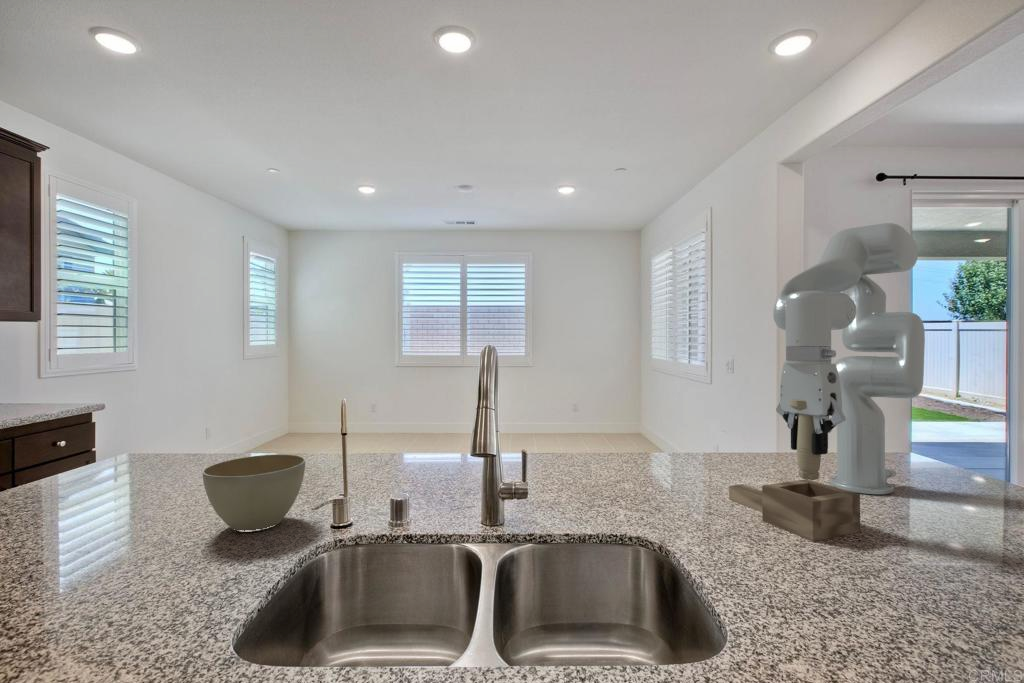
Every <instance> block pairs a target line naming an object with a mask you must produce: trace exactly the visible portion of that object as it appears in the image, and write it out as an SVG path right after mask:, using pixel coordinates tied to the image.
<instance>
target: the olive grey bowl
mask: <svg viewBox="0 0 1024 683" xmlns="http://www.w3.org/2000/svg"><path fill="white" fill-rule="evenodd" d="M305 469H306V458H305V457H303V456H302V455H301V456H300V455H296V454H284V453H283V454H282V453H281V454H280V453H279V454H277V453H276V454H263V455H261V454H260V455H252V456H245V457H239V458H232V459H229V460H225V461H224V460H223V461H220V462H217V463H213V464H211V465H209V466H206V467H205V468H203V470H202V481H203V486H204V489H205V493H206V495H207V498H208V501H209V502H210V505H211V507H212V508H213V510H214V512H215V513H216V514H217V515H218V517H219V518H220V519H221V520H222V521H223V522H224V524H226V525H227V526H228V527H229V528H230V529H231V528H232V529H231V530H233V529H235V530H244V531H245V530H256V529H263V528H267V527H270V526H273V525H276V524H278V523H279V522H280V523H281V522H282V521H283V519H284V518H285V517H286V515H287V514H288V512H289V511H290V510H291V508H292V507H293V506H294V503H295V501H296V500H297V497H298V495H299V493H300V490H301V487H302V484H303V480H304V475H305ZM280 523H279V524H280ZM279 524H278V525H279ZM276 526H277V525H276Z"/></svg>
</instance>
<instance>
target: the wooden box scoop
mask: <svg viewBox="0 0 1024 683" xmlns="http://www.w3.org/2000/svg"><path fill="white" fill-rule="evenodd" d="M761 487H762V488H761V489H758V488H757V487H756V488H755V487H752V486H749V485H747V484H743V483H742V484H741V483H740V484H735V485H729V486H728V500H729V499H730V500H729V501H732V502H735V503H738V504H740V503H741V504H740V505H742V504H743V506H745V507H747V506H748V508H750V509H752V510H755V509H756V510H755V511H758V512H761V513H762V514H761V515H762V517H761V518H762V520H761V522H764V521H765V522H764V523H767V522H768V523H767V524H769V523H770V524H769V525H771V524H772V526H774V525H775V526H774V527H776V526H777V528H779V529H780V530H781V529H782V530H784V531H787V532H789V533H790V534H793V535H796V536H799V537H801V538H804V539H806V540H809V541H811V542H816V541H817V540H818V541H823V540H827V539H832V537H833V538H836V537H842V535H843V536H848V535H853V534H858V533H861V493H857V492H851V491H847V490H843V489H839V488H837V487H834V486H833V485H828V484H825V483H822V482H818V481H815V480H809V479H801V480H792V481H785V482H777V483H770V484H763V485H761Z"/></svg>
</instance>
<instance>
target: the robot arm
mask: <svg viewBox="0 0 1024 683" xmlns="http://www.w3.org/2000/svg"><path fill="white" fill-rule="evenodd" d="M918 257H919V250H918V246H917V243H916V240H915V238H914V237H913V236H912V235H911V234H910V233H909V232H908V231H907V230H906V229H905V228H904V227H903V226H901V225H900V224H897V223H893V222H891V223H890V222H886V223H885V222H884V223H878V224H877V223H876V224H871V225H863V226H858V227H850V228H846V229H843V230H840V231H838V232H836V233H834V235H832V236H831V238H830V239H829V241H828V242H827V245H826V247H825V248H824V251H823V253H822V255H821V258H820V259H819V261H818V263H817V264H814V265H812V266H810V267H809V268H807V269H805V270H804V271H802V272H801V273H798V274H797V275H795V276H793V277H792V278H791V279H789V280H788V281H787V282H786V283H785V284H784V285H783V286H782V289H781V290H780V292H779V294H778V296H777V298H776V299H775V300H776V301H775V302H774V306H773V313H772V314H773V315H772V316H773V320H774V324H775V325H776V326H777V327H778V328H780V330H781V329H782V330H783V331H785V362H784V363H783V366H782V370H781V376H780V384H779V385H780V387H779V403H778V405H777V406H776V408H775V410H776V413H778V414H779V415H780V416H781V417H782V418H783V421H785V423H787V424H786V425H787V428H788V429H790V450H793V451H797V436H798V414H804V415H807V416H813V421H814V427H815V432H816V433H813V434H812V453H813V454H815V455H821V456H822V455H827V454H828V453H829V452H828V451H829V450H828V448H829V434H831V432H832V431H833V429H834V428H835V427H836V468H837V471H836V474H837V475H836V476H832V477H830V478H829V483H830V486H832V487H836V488H839V489H843V490H847V491H850V492H854V493H857V494H865V495H889V494H892V493H893V492H894V491H895V490H894V488H895V487H894V485H893V484H891V483H889V482H888V480H887V479H890V478H895V477H896V475H897V472H896V470H895V469H893V468H889V469H887V468H886V437H885V436H886V435H885V434H886V428H885V427H886V424H885V423H886V422H885V421H886V420H885V415H884V412H883V410H882V409H881V408H880V406H879V405H878V404H877V402H875V401H874V400H873V398H890V399H892V398H893V399H913V398H917V397H918V396H919V395H920V394H921V393H922V390H923V386H924V371H925V370H924V369H925V347H926V346H925V342H926V337H925V336H926V335H925V333H926V331H925V325H924V322H923V320H922V318H921V317H920V316H919V315H918V314H917V313H914V312H910V311H894V312H893V311H891V312H888V311H886V309H887V308H886V307H887V294H886V292H885V291H884V290H883V289H882V286H880V285H879V284H878V283H877V282H875V281H874V280H872V279H871V278H870V277H869V275H880V274H881V275H882V274H891V273H893V274H894V273H903V272H906V271H910V270H911V269H912V268H914V266H916V263H917V260H918ZM836 330H837V331H838V330H842V331H841V334H842V335H841V337H842V339H841V340H842V344H843V346H844V348H846V349H847V350H849V351H853V352H858V353H896V354H897V355H898V356H876V355H873V356H872V355H871V356H870V355H852V356H851V355H850V356H845V357H842V358H841V357H840V358H839V359H837V360H836V361H835V362H834V363H832V358H836V356H837V352H836V350H833V349H832V331H836ZM789 399H792V400H800V401H806V404H807V409H804V410H801V411H800V410H797V409H794V408H792V407H791V406H790V405H789Z"/></svg>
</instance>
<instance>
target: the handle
mask: <svg viewBox="0 0 1024 683" xmlns="http://www.w3.org/2000/svg"><path fill="white" fill-rule="evenodd" d="M789 405H790V406H791V407H792V408H794V409H797V410H800V411H801V410H804V409H807V404H806V401H800V400H792V399H789ZM813 433H816V432H815V427H814V421H813V416H807V415H804V414H798V436H797V450H796V460H797V466H798V469H799V470H798V476H799V478H801V479H802V480H805V479H808V480H811V481H815V480H819V478H820V472H819V471H820V467H821V457H822V454H821V455H815V454H813V453H812V434H813Z"/></svg>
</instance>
